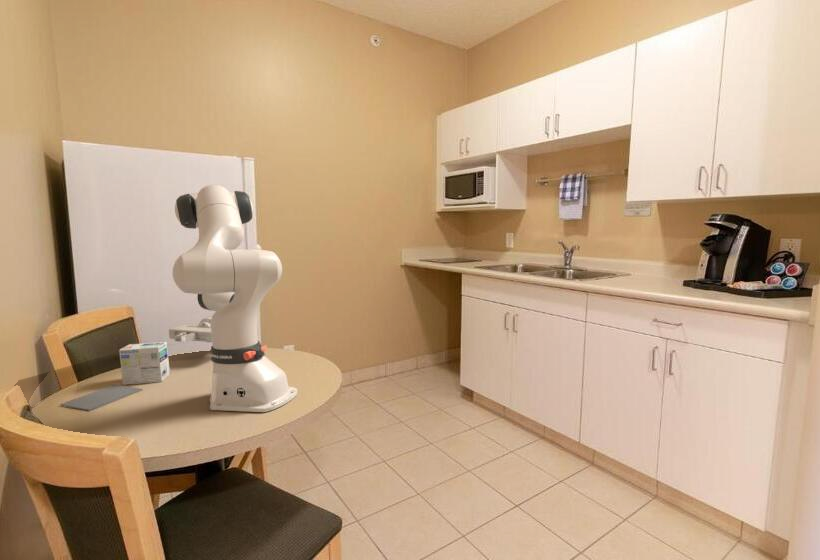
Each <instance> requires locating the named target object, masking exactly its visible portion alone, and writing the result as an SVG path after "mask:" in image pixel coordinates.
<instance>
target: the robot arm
mask: <svg viewBox="0 0 820 560" xmlns="http://www.w3.org/2000/svg"><path fill="white" fill-rule="evenodd" d="M254 208H255V207H254V204H253V201H252V199H251V198H250V196H249V194H247V193H246V192H245V191H240V190H234V191H229V190H228V189H227V188H226V187H224V186H222V185H218V184H210V185H205V186H203V187H202V188H201V189H200V190H199V191H198V192H197V193H191V194H190V193H185V194H183V195H180V196H178V198H177V199H176V200H175V204H174V214H175V216H176V219H177V220H178V223H180V225H181V226H183V227H184V228H186V229H195V230H196V229H198V238H197V239H198V240H197V242H196V243H195V244H194V246H193V247H191V248H190V249H189V250H188V251H186V252H185V253H182V254H180V255H179V256H178V257H177V259H176V260H175V262H174V264H173V266H172V267H173V268H172V278H173V281H174V283H175V286H177V288H178V289H180V291H182V292H183V293H185V294H192V295H193V294H194V295H197V297H196V299H197V302H198V305H199V306H200V308H202V309H203V310H208V311H214V313H213V314H212V316H209V317H204V318H202V319H201V320H200V322H199V323H198V324H183V325H179V326H174V327H170V328H169V329H168V334H169V335H168V337H169V339H170V340H174V341H175V342H182V343H184V342H189V341H194V342H204V343H205V342H206V343H211V344H212V345H211V347H210V358H211V362H213V363H212V364H213V366H212V368H213V370H212V380H211V381H212V382H211V390H210V391H211V392H210V397H209V403H210V404H209V410H210V411H224V412H225V411H228V412H231V411H232V412H249V413H250V412H251V413H266V412H270V411H273V410H275V409H278V408H280V407H282V406H284V405H285V404H288V403H289V402H290V401H292V400H293V399H294V398H295V397H296V396H297V394H298V388H297V387H293V386H289V383H288V382H289V381H288V378H287V374H286V372H285V371H284V370H283V369H282V368H280V366H278V365H277V364H275V363H274V362H273V361H271V360H270V359H269V358H268V357H267V356H265V354H266V353H265V351H267V350H268V348H267V347H268V345H264V346H262V343H261V342H260V341H259V337H258V336H259V335H258V333H259V332H258V320H259V319H258V317H259V312H260V311H259V310H260V307H261V304H262V303H263V300H264V299H265V297H266V295H267V294H268V293H269V292H270V291H271V290H272V289H273V288H274V287H276V285H277V284H278V283H279V281H280V280H281V278H282V275H283V264H282V261H281V260H280V257H279V256H278V255H277V254H276V252H274V251H272V250H267V249H266V250H265V249H259V248H244V249H242V248H241V249H239V246H240V245H241V244H242V243H243V241H244V238H245V231H244V230H245V229H244V226H243V225H244V224H247V223H249V222H250V221H251V220H252V219H253V215H254Z"/></svg>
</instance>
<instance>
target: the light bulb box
mask: <svg viewBox="0 0 820 560" xmlns="http://www.w3.org/2000/svg"><path fill="white" fill-rule="evenodd" d="M118 352H119V354H118V355H119V361H120V369H121V370H120V371H121V380H122V386H127V384H129V385H137V384H138V385H139V384H151V383H160V382H162V383H163V382H164V380H166V378H168V377H169V376H170V375H171V370H170V369H171V368H170V362H169V352H168V343H167V341H158V342H145V343H143V342H142V343H129V344H127V345H126V346H123V347H122V348H120V349H119V350H118Z"/></svg>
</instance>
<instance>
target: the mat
mask: <svg viewBox="0 0 820 560" xmlns="http://www.w3.org/2000/svg"><path fill="white" fill-rule="evenodd" d="M143 390H144V389H143V388H140V387H133V386H127V385H120V384H119V385H118V384H113V385H109V386H106V387H105V388H102V389H98V390H95V391H93V392H90V393H87V394H85V395H82V396H78V397H76V398H74V399H70V400H68V401H65V402H62V403H59V406H60V405H61V406H60V407H64V406H66V407H65V408H69V407H71V408H70V409H75V408H76V410H80V409H81V411H86V410H87V411H86V412H92V411H93V410H95V409H98V408H101V407H103V406H106V405H108V404H111V403H114V402H116V401H119V400H120V399H124V398H126V397H129V396H131V395H133V394H137V393H139V392H141V391H143Z"/></svg>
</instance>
